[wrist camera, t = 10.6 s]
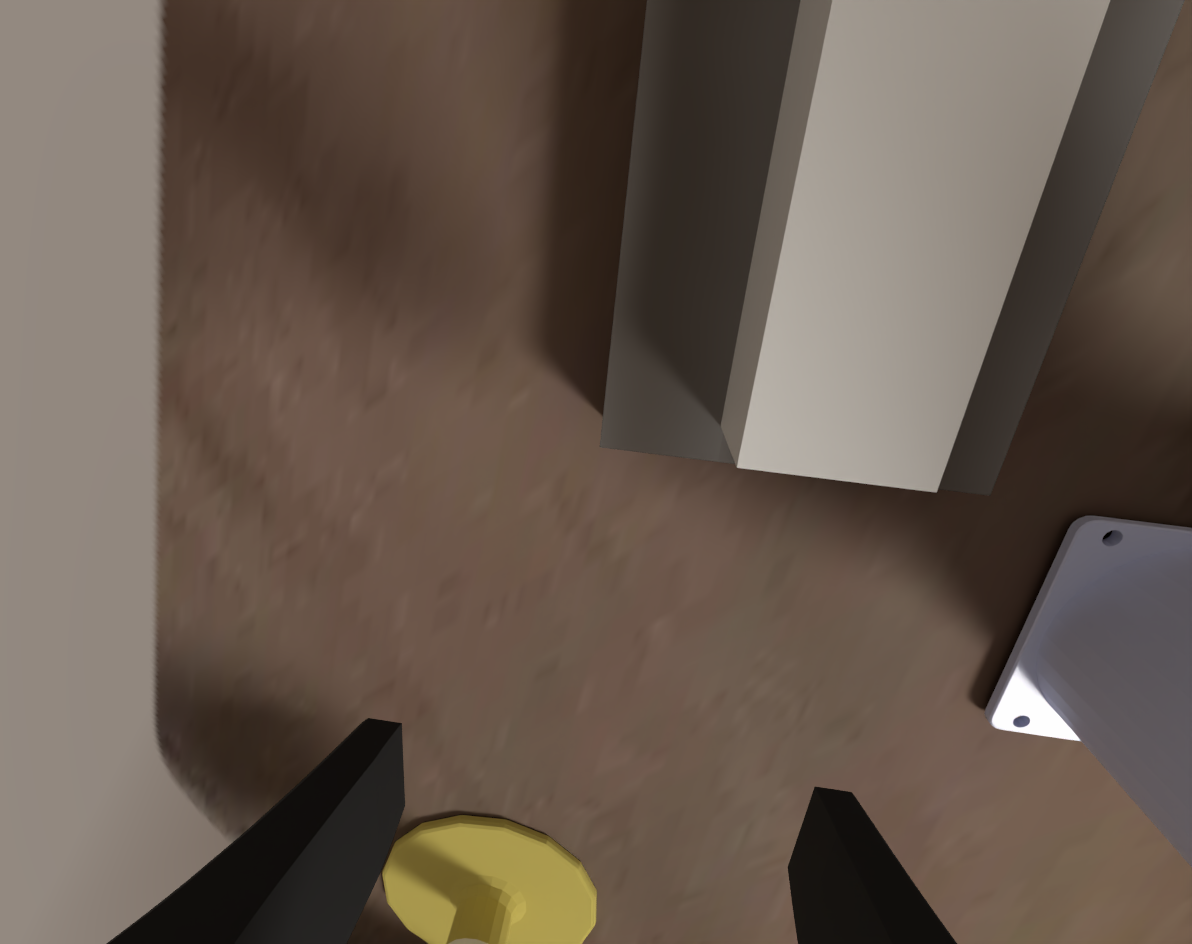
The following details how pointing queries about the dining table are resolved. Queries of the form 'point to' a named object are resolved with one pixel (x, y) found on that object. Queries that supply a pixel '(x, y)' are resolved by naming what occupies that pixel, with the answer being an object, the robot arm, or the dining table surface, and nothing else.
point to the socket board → (733, 205)
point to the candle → (488, 884)
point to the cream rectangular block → (895, 226)
